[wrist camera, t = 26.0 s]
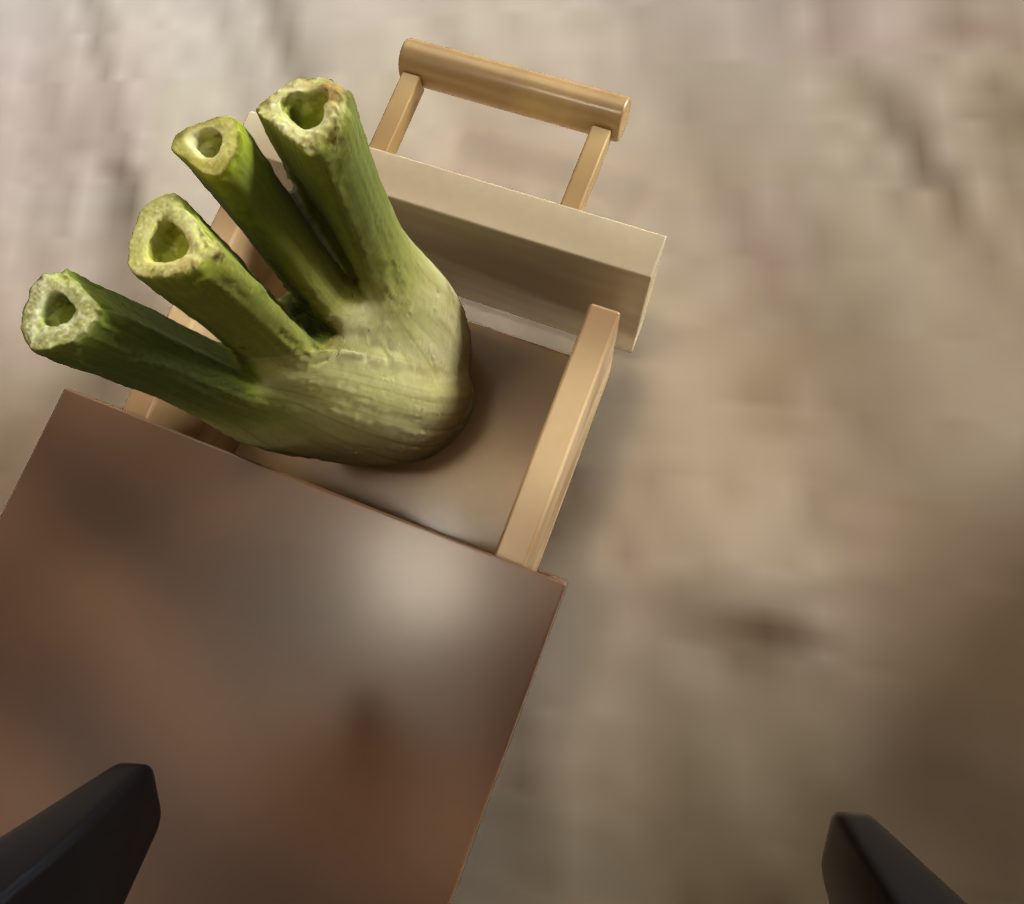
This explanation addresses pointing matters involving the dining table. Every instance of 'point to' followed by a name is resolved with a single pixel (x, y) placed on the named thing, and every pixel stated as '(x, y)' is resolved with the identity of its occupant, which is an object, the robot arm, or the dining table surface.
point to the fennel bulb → (280, 299)
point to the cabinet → (255, 666)
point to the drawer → (494, 282)
